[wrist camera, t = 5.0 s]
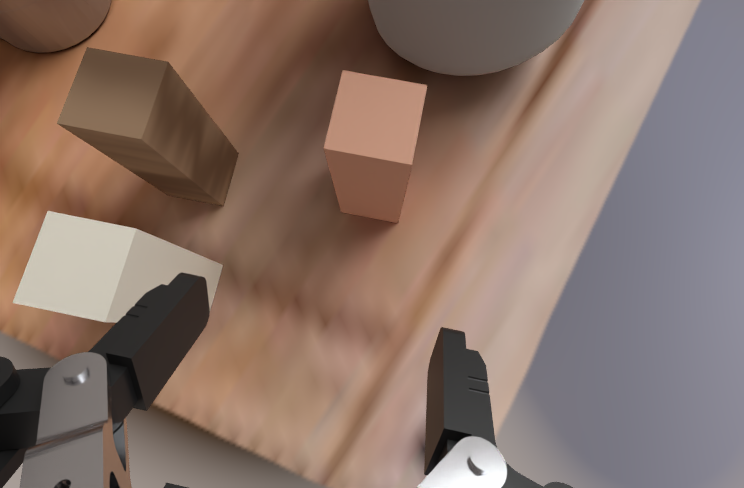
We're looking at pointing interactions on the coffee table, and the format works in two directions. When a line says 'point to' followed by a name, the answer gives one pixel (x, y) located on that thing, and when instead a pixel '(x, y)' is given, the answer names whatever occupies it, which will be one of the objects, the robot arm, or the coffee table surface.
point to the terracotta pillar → (373, 143)
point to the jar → (471, 31)
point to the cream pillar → (102, 268)
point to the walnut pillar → (149, 125)
